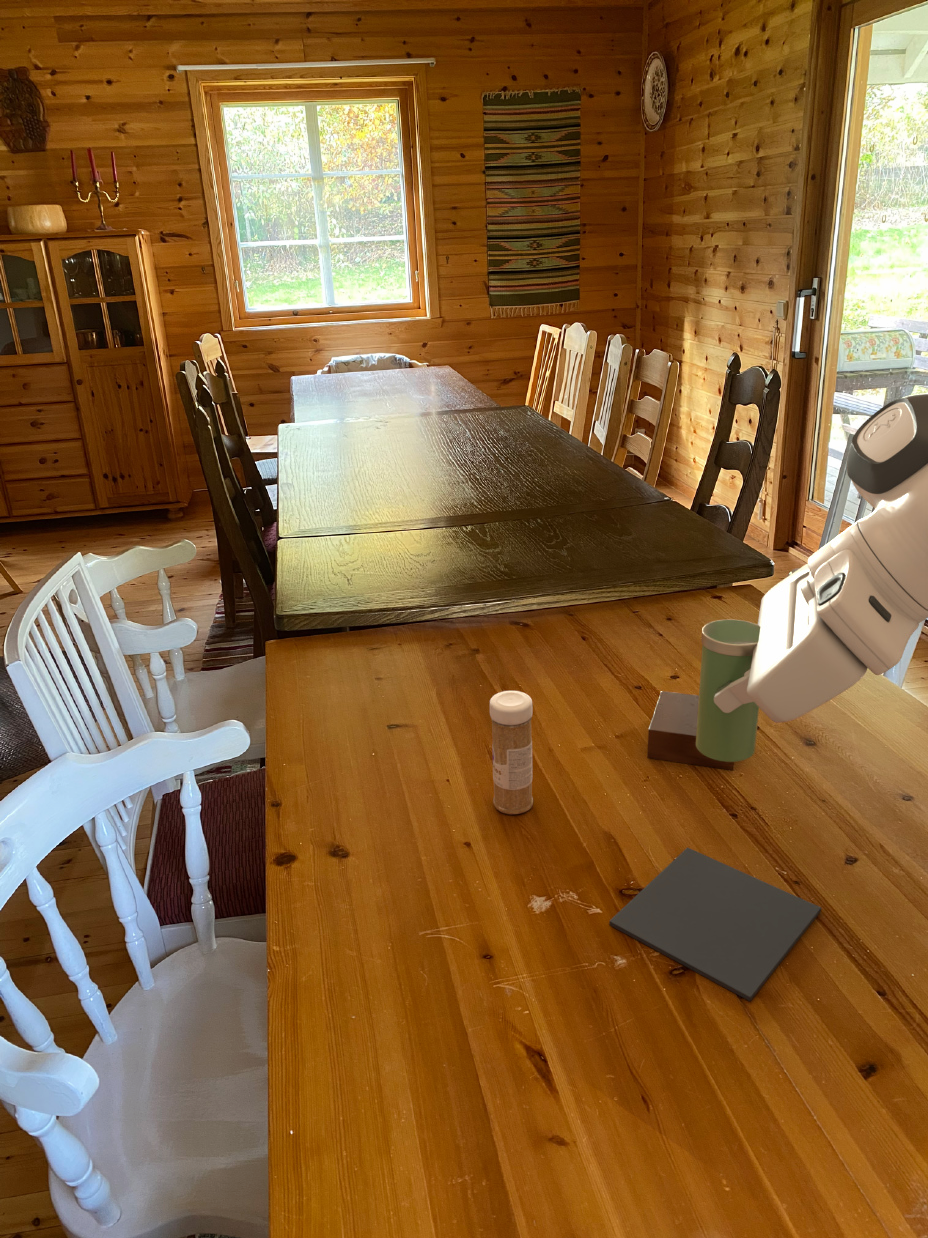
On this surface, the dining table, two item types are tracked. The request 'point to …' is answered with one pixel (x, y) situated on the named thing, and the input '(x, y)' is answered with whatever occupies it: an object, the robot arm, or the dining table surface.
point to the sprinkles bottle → (512, 751)
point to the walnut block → (678, 732)
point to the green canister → (721, 662)
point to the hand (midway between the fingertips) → (723, 686)
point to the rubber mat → (717, 921)
